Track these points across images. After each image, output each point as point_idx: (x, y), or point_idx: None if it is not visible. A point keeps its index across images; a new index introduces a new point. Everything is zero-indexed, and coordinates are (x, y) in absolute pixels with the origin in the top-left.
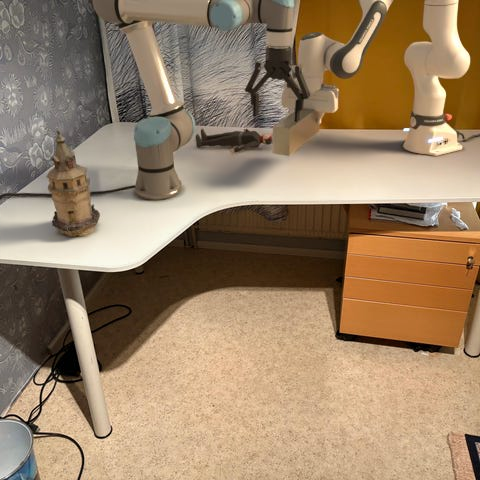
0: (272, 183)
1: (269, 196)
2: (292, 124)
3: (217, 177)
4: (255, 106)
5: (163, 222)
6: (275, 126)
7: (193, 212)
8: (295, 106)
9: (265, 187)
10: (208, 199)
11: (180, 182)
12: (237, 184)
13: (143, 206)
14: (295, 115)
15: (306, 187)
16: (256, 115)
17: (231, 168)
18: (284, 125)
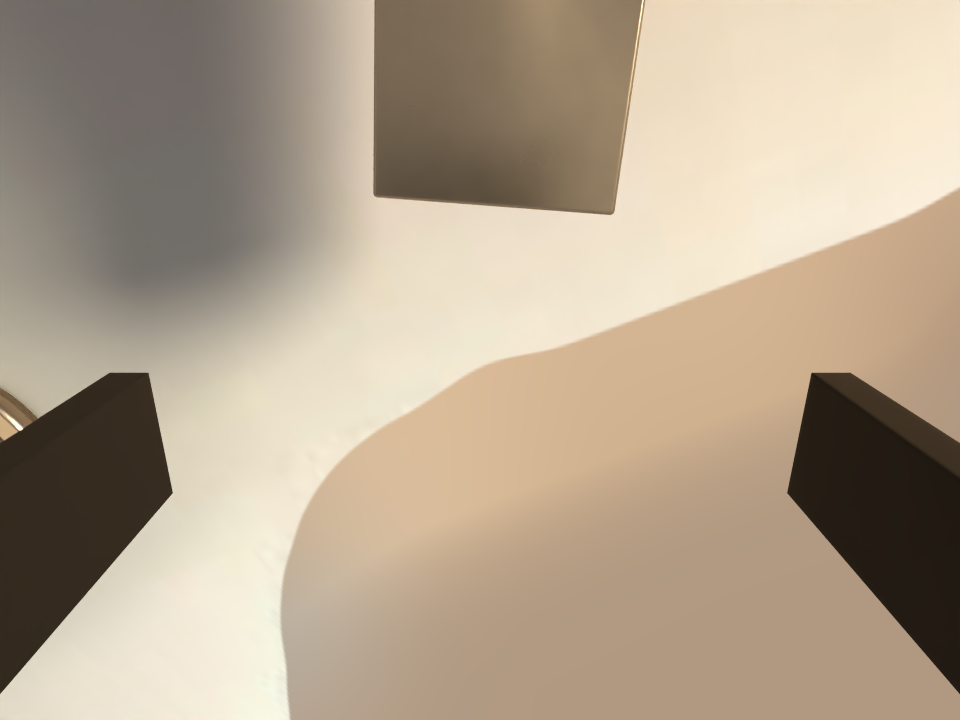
0: None
1: (490, 328)
2: (602, 9)
3: (93, 195)
4: (76, 602)
5: (200, 682)
6: (405, 186)
7: (249, 587)
8: (953, 681)
9: (423, 225)
10: (229, 464)
11: (7, 431)
12: (257, 247)
13: None
14: (850, 553)
15: (655, 128)
16: (162, 458)
17: (72, 4)
18: (505, 101)
